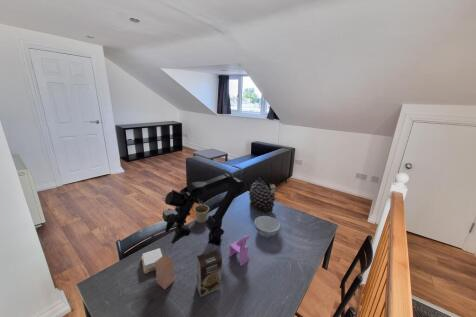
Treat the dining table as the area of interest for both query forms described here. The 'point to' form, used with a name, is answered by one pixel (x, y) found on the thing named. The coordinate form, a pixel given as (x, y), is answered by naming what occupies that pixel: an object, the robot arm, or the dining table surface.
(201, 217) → the flower pot
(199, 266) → the coffee box
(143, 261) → the bottom slab
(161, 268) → the pillar
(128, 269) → the dining table surface
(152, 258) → the top slab
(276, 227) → the chinaware
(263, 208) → the dark pinecone ornament
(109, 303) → the dining table surface
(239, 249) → the toy chair
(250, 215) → the dining table surface
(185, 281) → the dining table surface
